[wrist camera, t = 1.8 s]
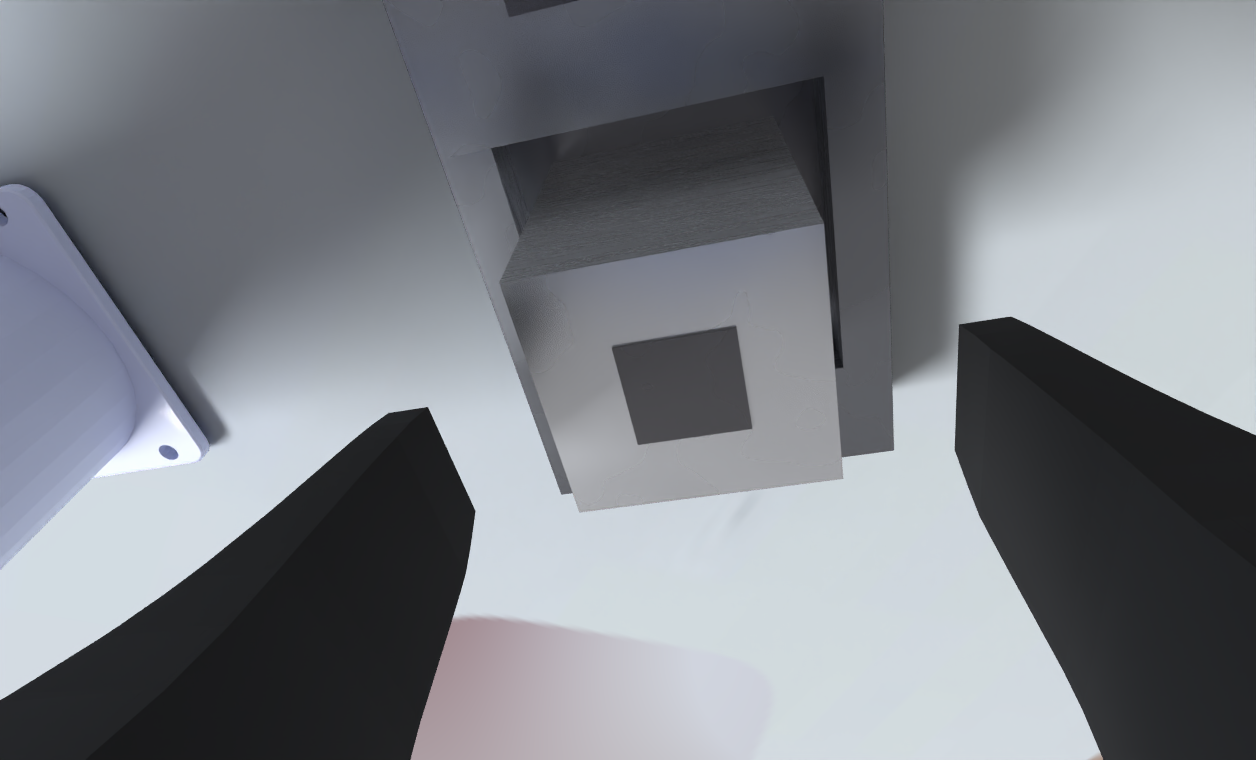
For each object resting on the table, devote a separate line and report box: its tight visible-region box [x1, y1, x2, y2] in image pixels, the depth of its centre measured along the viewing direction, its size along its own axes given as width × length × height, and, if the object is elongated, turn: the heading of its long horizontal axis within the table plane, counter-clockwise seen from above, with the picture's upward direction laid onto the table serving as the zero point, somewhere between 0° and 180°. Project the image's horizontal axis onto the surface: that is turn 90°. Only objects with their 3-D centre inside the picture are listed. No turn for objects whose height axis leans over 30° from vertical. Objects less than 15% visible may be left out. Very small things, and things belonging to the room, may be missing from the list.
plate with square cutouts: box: [382, 0, 894, 494], centre depth 14 cm, size 8×15×2 cm, turn 13°
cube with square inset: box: [499, 116, 843, 512], centre depth 13 cm, size 4×4×6 cm
